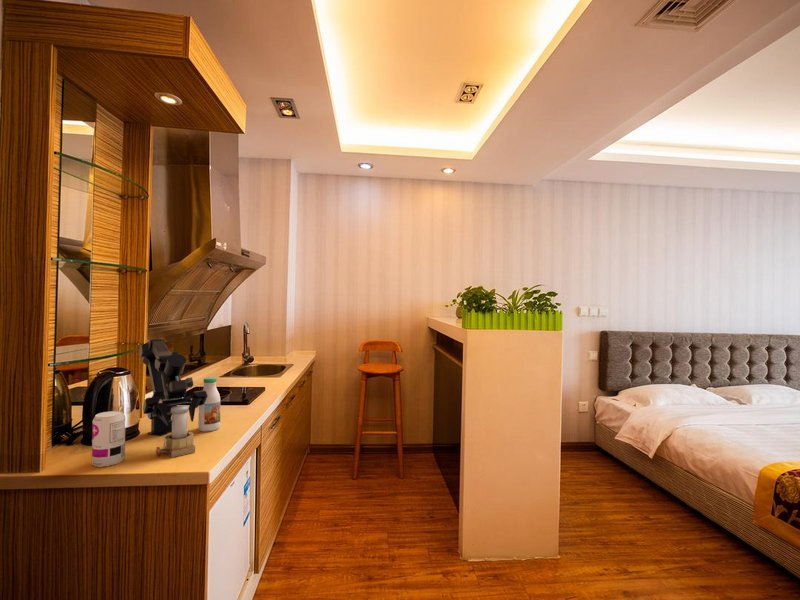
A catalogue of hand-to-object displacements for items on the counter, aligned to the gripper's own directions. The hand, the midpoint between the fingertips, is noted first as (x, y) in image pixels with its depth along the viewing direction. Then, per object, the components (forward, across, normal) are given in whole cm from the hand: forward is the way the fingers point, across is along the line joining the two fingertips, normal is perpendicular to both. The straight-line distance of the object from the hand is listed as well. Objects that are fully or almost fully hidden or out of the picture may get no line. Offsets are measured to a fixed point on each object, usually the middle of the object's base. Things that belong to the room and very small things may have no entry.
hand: (180, 423), depth 132 cm
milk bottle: (-6, +15, +20) cm, 26 cm away
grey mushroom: (+4, 0, +6) cm, 8 cm away
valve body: (+5, -1, +9) cm, 10 cm away
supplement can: (+3, -19, +10) cm, 22 cm away
